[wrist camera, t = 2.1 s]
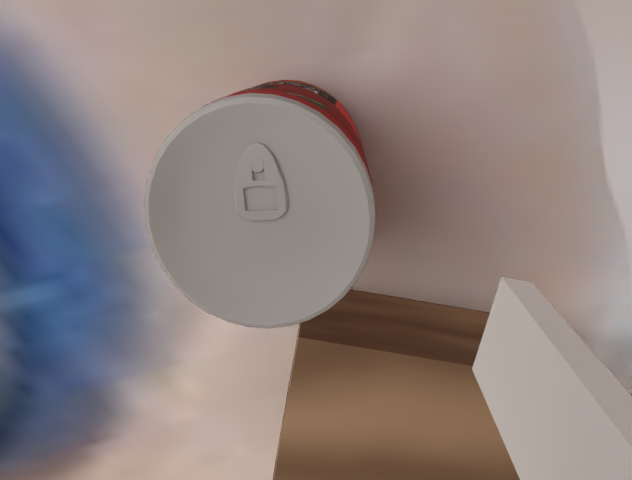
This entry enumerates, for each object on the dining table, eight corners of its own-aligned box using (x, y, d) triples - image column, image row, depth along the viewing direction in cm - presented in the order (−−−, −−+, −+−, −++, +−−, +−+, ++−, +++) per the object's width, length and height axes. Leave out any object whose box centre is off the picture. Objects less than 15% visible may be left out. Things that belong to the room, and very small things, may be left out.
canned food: (336, 57, 24) (334, 57, 14) (380, 205, 27) (406, 297, 17) (194, 107, 26) (97, 141, 15) (249, 245, 28) (198, 354, 18)
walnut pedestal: (306, 282, 29) (298, 337, 23) (543, 322, 29) (592, 386, 23) (274, 466, 34) (261, 549, 28) (477, 499, 34) (504, 587, 28)
